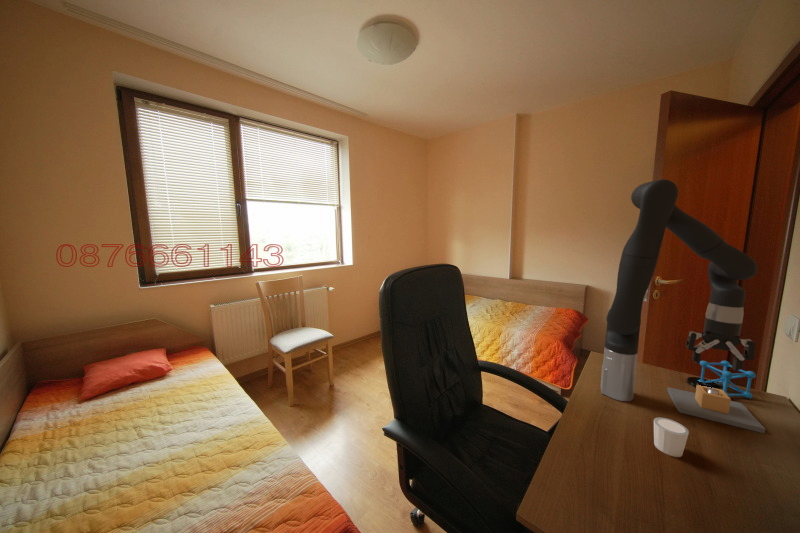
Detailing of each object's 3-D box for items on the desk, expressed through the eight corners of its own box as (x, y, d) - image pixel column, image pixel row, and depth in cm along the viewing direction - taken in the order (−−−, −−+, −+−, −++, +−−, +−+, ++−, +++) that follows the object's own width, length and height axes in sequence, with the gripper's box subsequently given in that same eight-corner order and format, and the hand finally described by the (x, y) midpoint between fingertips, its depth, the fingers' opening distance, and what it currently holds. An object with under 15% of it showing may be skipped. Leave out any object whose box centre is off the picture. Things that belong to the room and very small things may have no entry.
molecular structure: (694, 383, 105) (698, 359, 104) (721, 383, 105) (725, 359, 104) (724, 399, 95) (728, 373, 94) (754, 400, 95) (758, 373, 94)
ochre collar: (701, 407, 89) (703, 393, 89) (694, 397, 94) (696, 384, 94) (728, 413, 86) (730, 399, 85) (720, 403, 91) (722, 389, 90)
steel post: (706, 406, 90) (709, 390, 89) (704, 402, 92) (706, 387, 91) (717, 408, 88) (719, 393, 88) (714, 404, 90) (716, 389, 90)
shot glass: (676, 442, 77) (679, 419, 76) (692, 461, 71) (695, 437, 70) (646, 436, 79) (648, 414, 78) (659, 455, 73) (662, 431, 72)
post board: (678, 412, 89) (679, 408, 89) (667, 390, 101) (667, 387, 101) (764, 433, 80) (765, 428, 79) (740, 407, 91) (741, 403, 91)
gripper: (695, 317, 87) (688, 365, 89) (765, 326, 79) (755, 378, 82) (687, 311, 93) (681, 356, 95) (751, 318, 86) (742, 367, 88)
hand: (715, 366), depth 89 cm, fingers open, 8 cm apart
